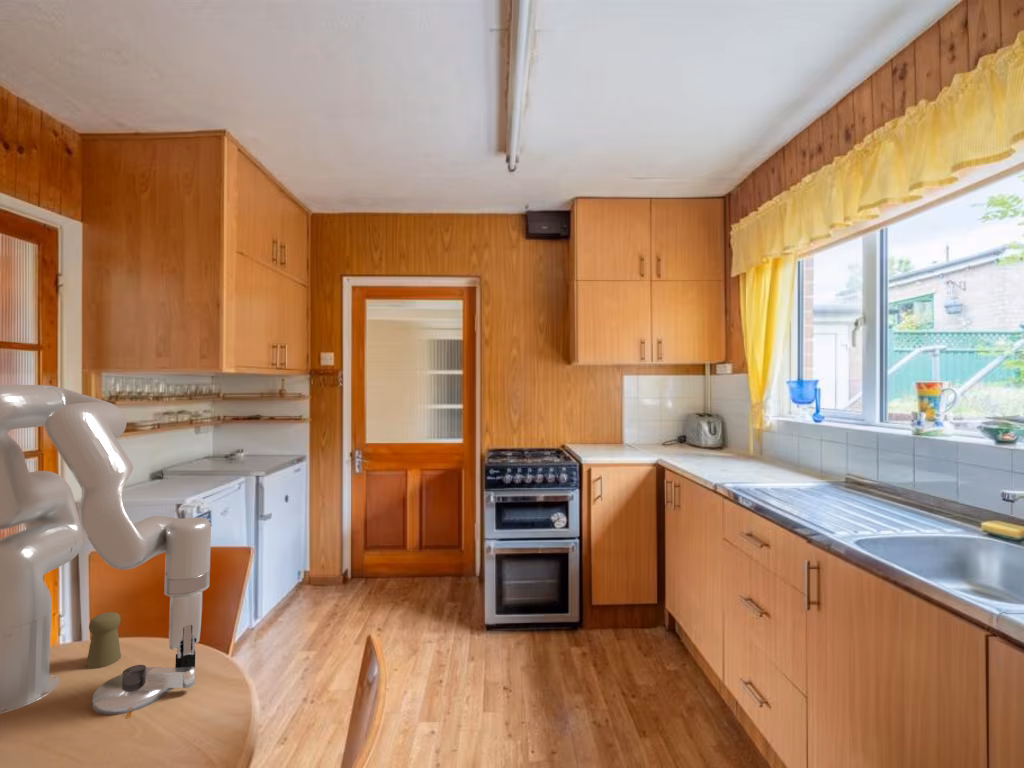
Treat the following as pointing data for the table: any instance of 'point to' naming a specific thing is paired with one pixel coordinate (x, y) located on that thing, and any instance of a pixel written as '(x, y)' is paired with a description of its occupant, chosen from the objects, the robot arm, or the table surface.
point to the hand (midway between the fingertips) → (185, 673)
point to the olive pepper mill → (104, 640)
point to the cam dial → (139, 688)
